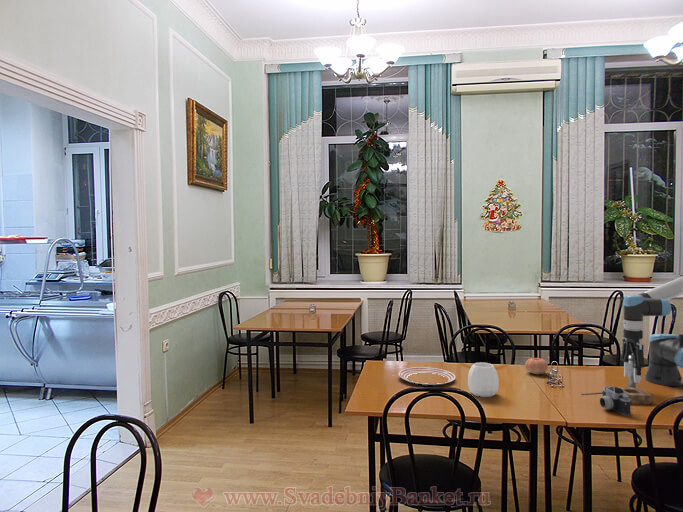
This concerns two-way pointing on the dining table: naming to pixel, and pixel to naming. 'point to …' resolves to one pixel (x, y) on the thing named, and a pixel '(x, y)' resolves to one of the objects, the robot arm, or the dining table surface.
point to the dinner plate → (415, 370)
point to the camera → (615, 400)
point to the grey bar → (631, 372)
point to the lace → (592, 393)
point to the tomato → (536, 365)
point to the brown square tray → (637, 395)
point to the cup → (483, 380)
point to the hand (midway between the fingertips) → (632, 379)
